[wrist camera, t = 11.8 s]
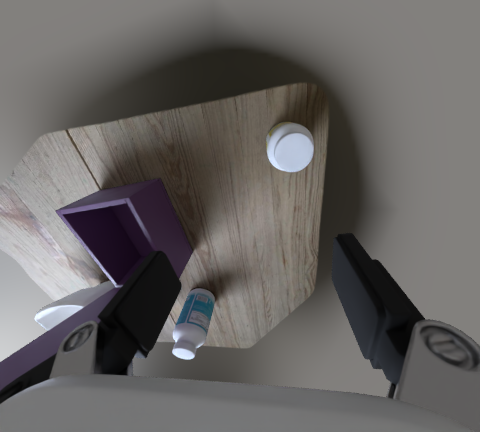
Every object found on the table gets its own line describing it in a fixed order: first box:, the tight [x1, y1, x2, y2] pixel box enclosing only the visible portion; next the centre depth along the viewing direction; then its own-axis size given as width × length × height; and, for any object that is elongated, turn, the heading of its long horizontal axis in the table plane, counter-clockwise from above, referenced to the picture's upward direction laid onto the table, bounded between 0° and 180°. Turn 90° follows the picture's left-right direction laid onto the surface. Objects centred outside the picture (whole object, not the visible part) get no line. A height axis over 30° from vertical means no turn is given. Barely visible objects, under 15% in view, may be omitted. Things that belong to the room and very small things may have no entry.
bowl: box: [35, 281, 117, 331], centre depth 47 cm, size 22×22×12 cm
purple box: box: [56, 178, 193, 287], centre depth 34 cm, size 18×14×9 cm
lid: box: [0, 287, 121, 391], centre depth 25 cm, size 18×14×5 cm
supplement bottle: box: [266, 122, 314, 172], centre depth 23 cm, size 5×5×10 cm
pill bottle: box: [173, 288, 215, 359], centre depth 42 cm, size 8×7×14 cm
